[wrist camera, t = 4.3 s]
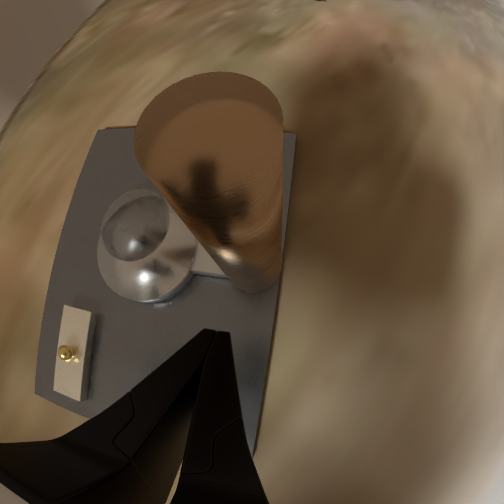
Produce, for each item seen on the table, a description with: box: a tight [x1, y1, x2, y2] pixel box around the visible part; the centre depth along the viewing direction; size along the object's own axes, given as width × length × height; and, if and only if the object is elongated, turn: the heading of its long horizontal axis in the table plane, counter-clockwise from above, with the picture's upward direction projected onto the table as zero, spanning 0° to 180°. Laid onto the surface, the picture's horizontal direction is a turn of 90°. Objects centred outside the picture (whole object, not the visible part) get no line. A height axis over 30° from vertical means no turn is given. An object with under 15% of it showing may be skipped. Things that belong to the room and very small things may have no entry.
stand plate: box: [35, 128, 296, 456], centre depth 18 cm, size 20×15×2 cm
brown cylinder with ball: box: [97, 72, 283, 303], centre depth 12 cm, size 6×11×12 cm, turn 82°
